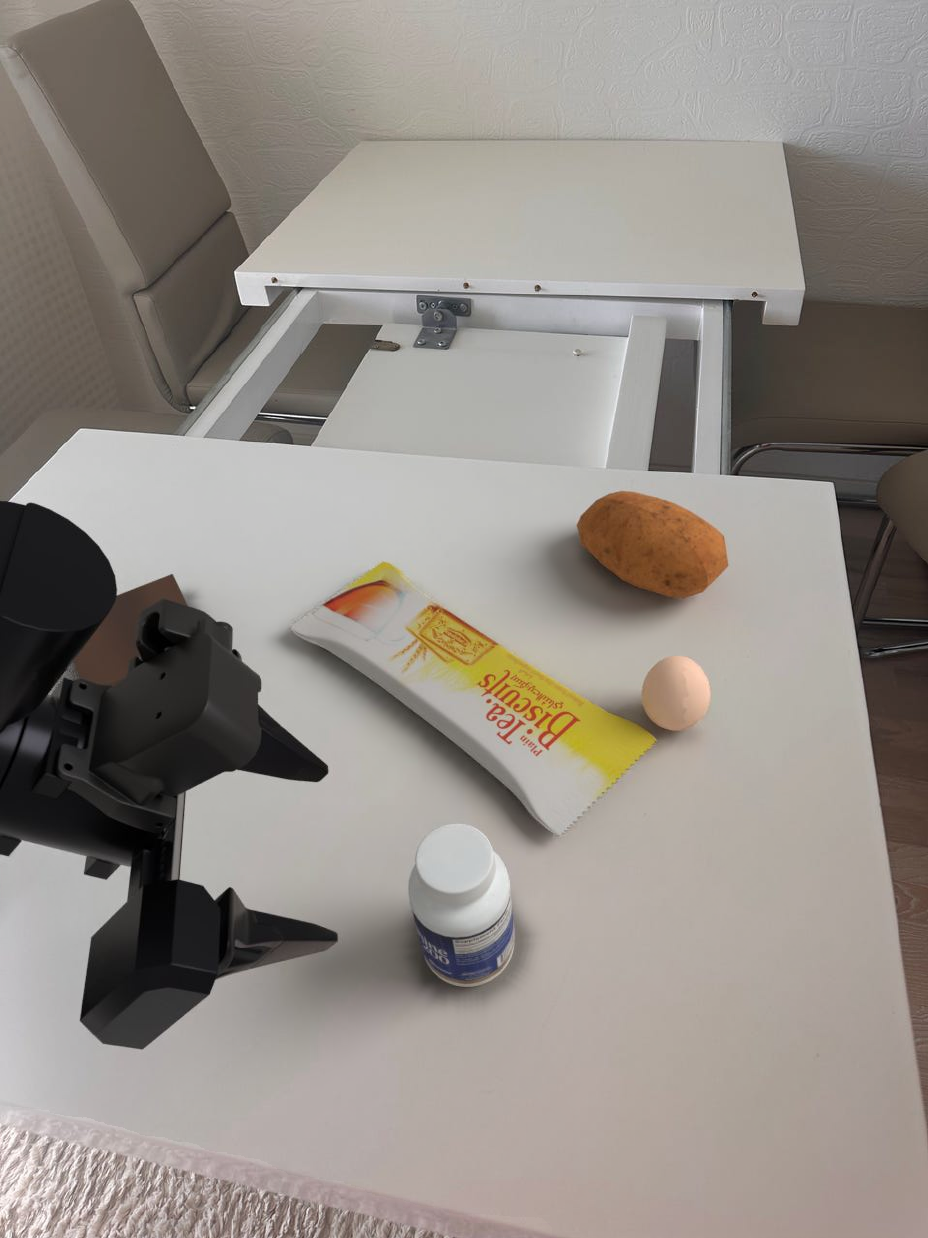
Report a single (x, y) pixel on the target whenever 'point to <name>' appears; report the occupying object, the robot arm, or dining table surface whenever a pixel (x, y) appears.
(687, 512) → the potato
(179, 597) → the walnut block
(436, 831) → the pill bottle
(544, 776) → the food package
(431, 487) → the dining table surface
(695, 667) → the egg
